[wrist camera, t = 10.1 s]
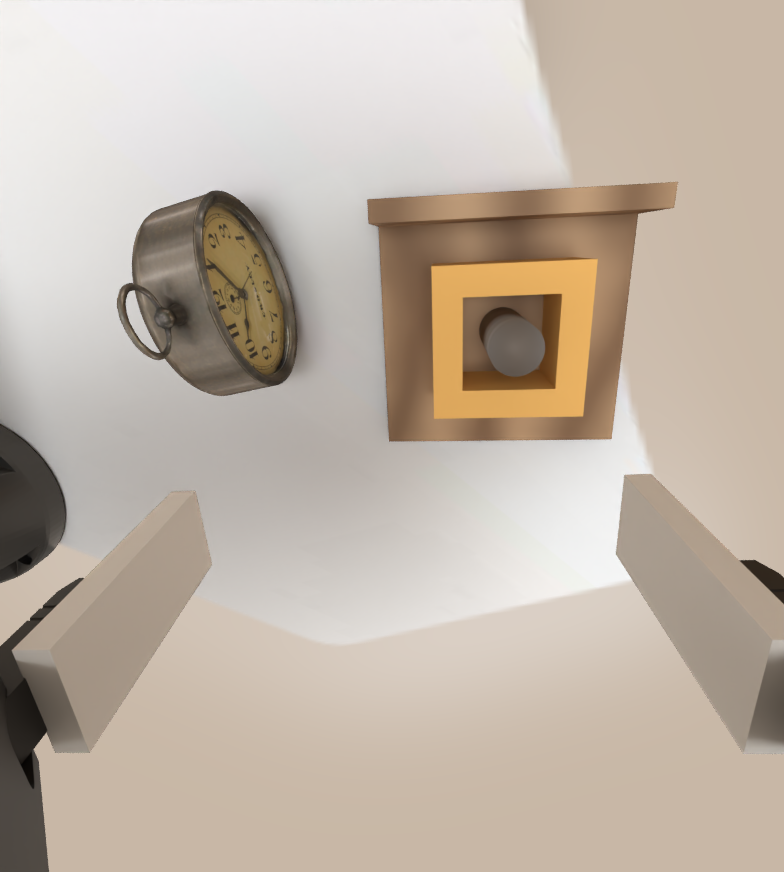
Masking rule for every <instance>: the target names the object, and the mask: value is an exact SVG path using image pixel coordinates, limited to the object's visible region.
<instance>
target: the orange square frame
mask: <svg viewBox="0 0 784 872" xmlns="http://www.w3.org/2000/svg"><path fill="white" fill-rule="evenodd" d="M597 263H598V259H592V258H579V257H566V258H544V259H522V260H500V261H478V262H456V263H434V264H432V266H431V271H432V330H433V389H434V419H452V418H515V417H579V416H583V412H584V402H585V391H586V380H587V369H588V359H589V348H590V337H591V327H592V316H593V305H594V295H595V284H596V273H597ZM540 294H544V302H543V319H542V336H543V338H544V341H545V354H544V357H543V359H542V361H541V363H540V370H533V371H532V372H530V373H529V374H526V375H523V376H519V377H512V376H507V375H504V374H502V373H501V372H499V371H471V372H463V297H488V296H514V295H540Z"/></svg>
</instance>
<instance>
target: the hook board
mask: <svg viewBox="0 0 784 872" xmlns="http://www.w3.org/2000/svg"><path fill="white" fill-rule="evenodd" d="M677 184H678V182H668V183H652V184H651V183H650V184H633V185H615V186H599V187H598V186H597V187H579V188H562V189H544V190H526V191H508V192H490V193H473V194H455V195H437V196H419V197H402V198H384V199H367V203H368V221H369V224H372V225H375V226H378V227H379V244H380V265H381V285H382V305H383V326H384V346H385V367H386V387H387V408H388V428H389V441H480V440H582V439H611V438H612V430H613V421H614V413H615V404H616V396H617V388H618V379H619V371H620V362H621V354H622V345H623V337H624V329H625V320H626V311H627V303H628V295H629V286H630V278H631V269H632V260H633V253H634V244H635V236H636V226H637V218H638V214H639V213H644V212H651V211H657V210H663V209H669V208H674V205H675V198H676V191H677ZM566 257H579V258H592V259H598V263H597V273H596V284H595V295H594V305H593V316H592V327H591V337H590V348H589V359H588V369H587V380H586V391H585V402H584V412H583V416H579V417H515V418H452V419H434V389H433V330H432V271H431V266H432V264H434V263H456V262H478V261H500V260H522V259H544V258H566ZM543 302H544V294H540V295H514V296H488V297H463V372H471V371H499V372H501V373H502V374H504V375H507V376H512V377H519V376H523V375H526V374H529V373H530V372H532V371H533V370H540V363H541V361H542V359H543V357H544V354H545V341H544V338H543V336H542V319H543Z"/></svg>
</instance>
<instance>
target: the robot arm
mask: <svg viewBox="0 0 784 872" xmlns="http://www.w3.org/2000/svg"><path fill="white" fill-rule="evenodd" d="M64 525H65V508H64V502H63V498H62V494H61V492H60V489H59V486H58V484H57V482H56V480H55V478H54V476H53V474H52V473H51V471H50V470H49V468H48V467H47V465H46V464H45V462H44V461H43V460H42V459H41V457H40V456H39V455H38V454H37V453H36V452H35V451H34V450H33V449H32V448H31V447H30V446H29V445H28V444H27V443H26V442H24V441H23V440H22V439H21V438H20V437H18V436H17V435H16V434H14V433H13V432H11V431H10V430H8V429H6V428H4V427H3V426H1V425H0V583H2V582H5V581H8V580H10V579H13V578H16V577H18V576H20V575H22V574H23V573H25V572H27V571H29V570H30V569H31V568H33V567H34V566H35V565H37V564H38V563H39V562H40V561H42V560H43V559H44V558H45V557H47V556H48V555H49V554H50V553H51V552H52V551H53V550H54V549H55V547H56V546H57V545H58V543H59V541H60V539H61V537H62V534H63V530H64ZM616 555H617V557H618V558H619V560H620V561H621V563H622V564H623V566H624V568H625V569H626V571H627V572H628V574H629V575H630V577H631V579H632V580H633V582H634V583H635V585H636V586H637V588H638V589H639V591H640V592H641V594H642V596H643V597H644V599H645V600H646V602H647V604H648V605H649V607H650V608H651V610H652V611H653V613H654V615H655V616H656V618H657V619H658V621H659V622H660V624H661V626H662V627H663V629H664V630H665V632H666V633H667V635H668V637H669V638H670V640H671V641H672V643H673V644H674V646H675V647H676V649H677V651H678V652H679V654H680V655H681V657H682V658H683V660H684V662H685V663H686V665H687V666H688V668H689V669H690V671H691V673H692V674H693V676H694V677H695V679H696V680H697V682H698V683H699V685H700V687H701V688H702V690H703V691H704V693H705V695H706V696H707V698H708V699H709V701H710V702H711V704H712V705H713V707H714V709H715V710H716V712H717V713H718V715H719V716H720V718H721V720H722V721H723V723H724V724H725V726H726V727H727V729H728V731H729V732H730V734H731V735H732V737H733V738H734V740H735V742H736V743H737V745H738V746H739V748H740V749H741V751H742V752H743V754H784V578H783V576H781V575H780V574H779V573H777V572H776V571H774V570H772V569H770V568H768V567H767V566H765V565H763V564H761V563H759V562H757V561H756V560H741V561H740V560H738V559H737V558H736V557H735V556H734V555H733V554H732V553H731V552H730V551H729V550H728V549H727V548H726V547H725V546H724V545H723V544H722V543H721V542H720V541H719V540H718V539H717V538H716V537H715V536H714V535H713V534H712V533H711V532H710V531H709V530H708V529H707V528H706V527H705V526H704V525H703V524H702V523H701V522H699V520H698V519H697V518H695V516H693V515H692V514H691V513H690V512H689V511H688V510H687V509H686V508H685V507H684V506H683V505H682V504H681V503H680V502H679V501H678V500H677V499H676V498H675V497H674V496H673V495H672V494H671V493H670V492H669V491H668V490H667V489H666V488H665V487H664V486H663V485H662V484H661V483H660V482H659V481H658V480H657V479H656V478H655V477H654V476H653V475H652V474H636V475H624V484H623V493H622V503H621V512H620V521H619V530H618V540H617V549H616ZM211 566H212V562H211V557H210V553H209V549H208V544H207V540H206V536H205V531H204V527H203V522H202V518H201V514H200V509H199V505H198V501H197V496H196V492H195V491H175V492H171V493H170V494H169V495H168V496H167V497H166V498H165V499H164V500H163V501H162V502H161V503H160V504H159V505H158V506H157V507H156V508H155V509H154V510H153V511H152V512H151V513H150V514H149V515H148V516H147V517H146V518H145V519H144V520H143V521H142V522H141V523H140V524H139V525H138V526H137V527H136V528H135V529H134V530H133V531H132V532H131V533H130V534H129V535H128V536H127V537H126V538H124V539H123V540H122V541H121V542H120V543H119V544H118V545H117V546H116V547H115V548H114V549H113V550H112V551H111V552H110V553H109V554H108V555H107V556H106V557H105V558H104V559H103V560H102V561H101V562H100V563H99V564H98V565H97V566H96V567H95V568H94V569H93V570H92V571H91V572H90V573H89V574H88V575H87V576H86V577H85V578H79V579H77V580H75V581H74V582H72V583H70V584H69V585H67V586H66V587H64V588H62V589H61V590H59V591H58V592H57V593H56V594H55V595H54V596H53V597H51V598H50V599H49V600H48V601H47V603H45V604H44V605H43V608H42V609H39V610H38V611H37V612H36V613H35V614H34V615H33V616H32V617H31V618H30V621H26V622H25V623H24V624H23V625H22V626H21V627H20V628H19V629H18V630H17V631H16V632H15V633H14V634H13V635H12V636H11V637H10V638H9V639H8V640H7V641H6V642H4V643H3V644H2V645H1V646H0V872H49V868H48V858H47V847H46V837H45V825H44V815H43V803H42V792H41V782H40V771H39V761H38V759H37V756H36V754H35V752H34V750H33V749H34V748H35V746H36V745H37V744H38V742H39V741H40V740H41V739H42V737H43V736H44V735H45V733H46V732H47V735H48V737H49V739H50V741H51V744H52V746H53V748H54V751H55V753H62V752H63V753H90V751H91V750H92V748H93V747H94V745H95V744H96V742H97V741H98V739H99V738H100V736H101V734H102V733H103V732H104V730H105V728H106V727H107V725H108V724H109V722H110V721H111V719H112V718H113V716H114V715H115V713H116V712H117V710H118V708H119V707H120V705H121V704H122V702H123V701H124V699H125V698H126V696H127V695H128V693H129V692H130V690H131V688H132V687H133V685H134V684H135V682H136V681H137V679H138V678H139V676H140V675H141V673H142V672H143V670H144V668H145V667H146V665H147V664H148V662H149V661H150V659H151V658H152V656H153V655H154V653H155V652H156V650H157V648H158V647H159V645H160V644H161V642H162V641H163V639H164V638H165V636H166V635H167V633H168V632H169V630H170V629H171V627H172V625H173V624H174V622H175V621H176V619H177V618H178V616H179V615H180V613H181V612H182V610H183V609H184V607H185V605H186V604H187V602H188V600H189V599H190V598H191V596H192V595H193V593H194V592H195V590H196V589H197V587H198V586H199V584H200V582H201V581H202V579H203V578H204V576H205V575H206V573H207V572H208V570H209V569H210V567H211Z"/></svg>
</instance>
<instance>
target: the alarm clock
mask: <svg viewBox="0 0 784 872" xmlns="http://www.w3.org/2000/svg"><path fill="white" fill-rule="evenodd" d="M132 276H133V283H129V284H126V285H124V286H123V287H122V288H121V289H120V291H119V295H118V298H117V308H118V312H119V317H120V320H121V322H122V324H123V327H124V329H125V331H126V333H127V334H128V336H129V337H130V339H131V340H132V342H133V343H134V344H135V346H136V347H137V348H138V349H139V350H140V351H141V352H142V353H143V354H145V355H147V356H148V357H150V358H152V359H155V360H161V359H164V358H165V359H166V361H167V362H168V363H169V364H170V365H171V367H172V368H173V369H174V370H175V371H176V372H177V373H178V374H179V375H180V376H181V377H182V378H183V379H184V380H186V381H187V382H188V383H190V384H191V385H192V386H194V387H196V388H198V389H200V390H201V391H204V392H206V393H209V394H213V395H217V396H227V395H232V394H237V393H242V392H246V391H251V390H256V389H260V388H265V387H269V386H275V385H279V384H281V383H283V382H284V381H285V380H286V379H287V378H288V376H289V375H290V373H291V371H292V369H293V366H294V363H295V358H296V350H297V329H296V320H295V313H294V307H293V302H292V298H291V294H290V290H289V287H288V284H287V281H286V277H285V274H284V272H283V269H282V266H281V263H280V261H279V259H278V256H277V254H276V252H275V250H274V248H273V246H272V244H271V242H270V240H269V238H268V237H267V234H266V233H265V232H264V230H263V228H262V226H261V225H260V223H259V222H258V220H257V219H256V217H255V216H254V215H253V213H252V212H251V211H250V210H249V209H248V208H247V207H246V206H245V205H244V204H243V203H242V202H241V201H240V200H238V199H237V198H236V197H234V196H232V195H230V194H228V193H226V192H223V191H211V192H209V193H207V194H205V195H202V196H199V197H196V198H193V199H190V200H186V201H183V202H180V203H177V204H174V205H171V206H168V207H164V208H161V209H159V210H156V211H154V212H153V213H151V214H150V215H149V216H148V217H147V218H146V219H145V220H144V221H143V223H142V225H141V226H140V228H139V230H138V232H137V235H136V239H135V242H134V247H133V256H132ZM132 290H135V294H136V298H137V302H138V305H139V308H140V312H141V314H142V317H143V320H144V322H145V324H146V326H147V329H148V331H149V333H150V335H151V337H152V339H153V341H154V343H155V344H156V346H157V348H158V349H159V351H160V352H161V353H156V352H153V351H151V350H150V349H149V348H148V347H147V346H145V345H144V344H143V343H142V342H141V341H140V339H139V338H138V336H137V335H136V333H135V331H134V329H133V328H132V326H131V324H130V322H129V319H128V316H127V312H126V305H125V303H126V298H127V294H128V292H129V291H132Z"/></svg>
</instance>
